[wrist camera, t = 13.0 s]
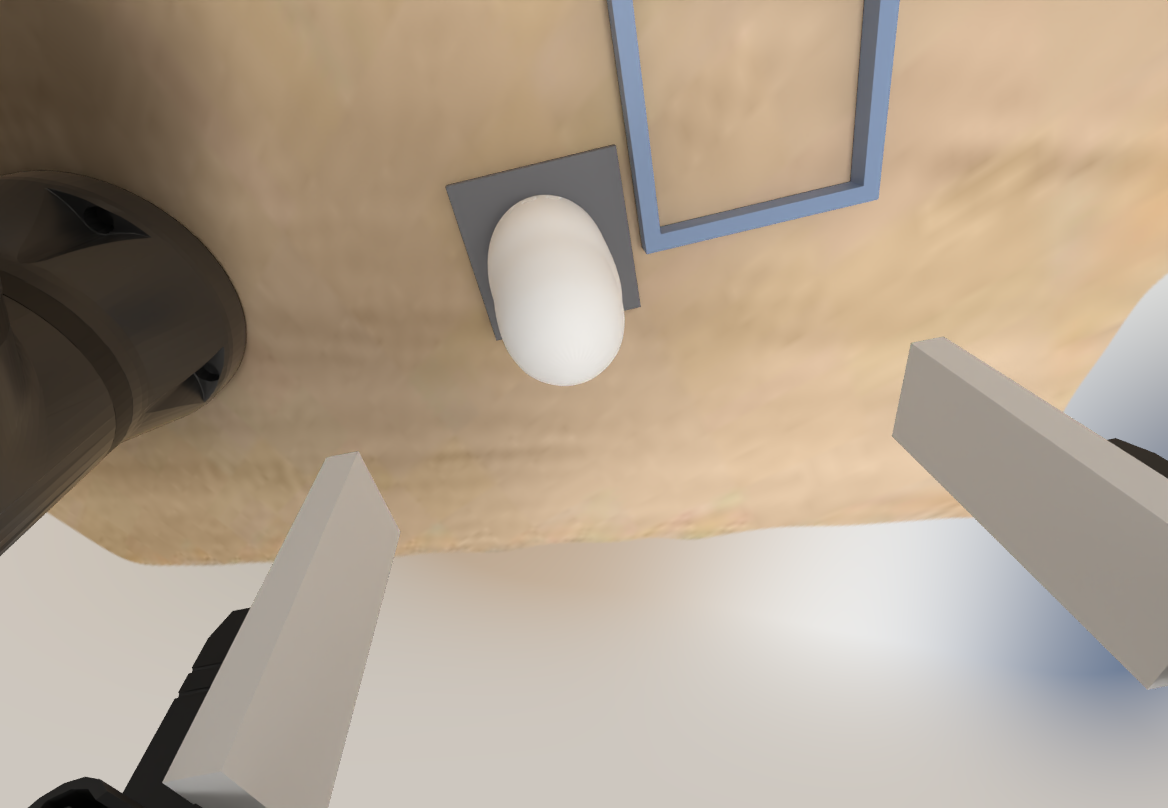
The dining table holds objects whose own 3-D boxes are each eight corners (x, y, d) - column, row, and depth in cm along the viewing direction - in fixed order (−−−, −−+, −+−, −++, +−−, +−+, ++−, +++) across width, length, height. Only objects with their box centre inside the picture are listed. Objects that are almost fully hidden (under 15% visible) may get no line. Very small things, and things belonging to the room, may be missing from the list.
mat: (497, 336, 36) (496, 340, 35) (446, 185, 30) (445, 187, 30) (639, 303, 36) (640, 306, 35) (614, 144, 30) (615, 145, 30)
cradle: (642, 247, 33) (646, 254, 32) (600, -43, 25) (605, -48, 24) (864, 194, 33) (878, 199, 32) (893, -116, 25) (913, -126, 24)
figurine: (518, 324, 35) (518, 428, 25) (468, 213, 31) (444, 284, 21) (619, 288, 34) (661, 379, 24) (582, 169, 30) (614, 220, 20)
